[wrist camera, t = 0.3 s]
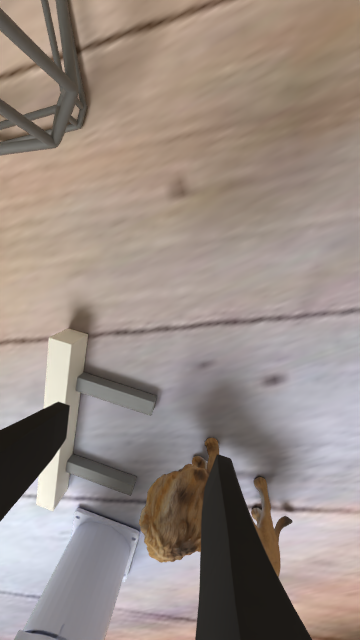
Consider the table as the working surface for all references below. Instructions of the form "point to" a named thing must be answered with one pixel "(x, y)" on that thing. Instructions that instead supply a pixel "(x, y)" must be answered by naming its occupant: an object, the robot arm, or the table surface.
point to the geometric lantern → (67, 81)
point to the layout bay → (66, 387)
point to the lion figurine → (196, 512)
